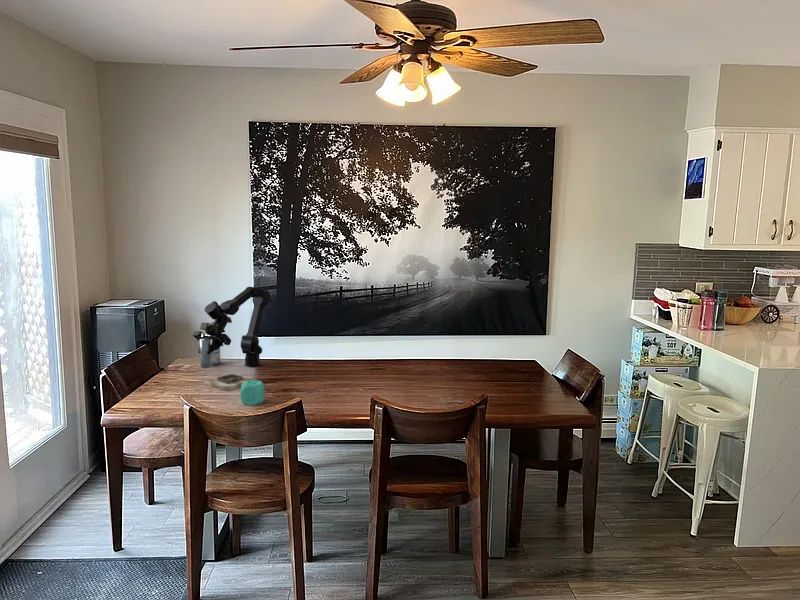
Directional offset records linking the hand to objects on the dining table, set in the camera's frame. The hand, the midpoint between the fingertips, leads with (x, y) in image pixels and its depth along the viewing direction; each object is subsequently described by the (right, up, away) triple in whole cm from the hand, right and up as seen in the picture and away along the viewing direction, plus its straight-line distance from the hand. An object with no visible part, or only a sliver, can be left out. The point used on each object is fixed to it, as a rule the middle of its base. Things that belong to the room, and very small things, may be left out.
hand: (203, 353), depth 271 cm
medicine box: (-7, -9, +34) cm, 36 cm away
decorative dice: (+29, -18, -27) cm, 44 cm away
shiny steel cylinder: (+1, -6, +2) cm, 7 cm away
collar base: (+12, -14, -1) cm, 18 cm away
